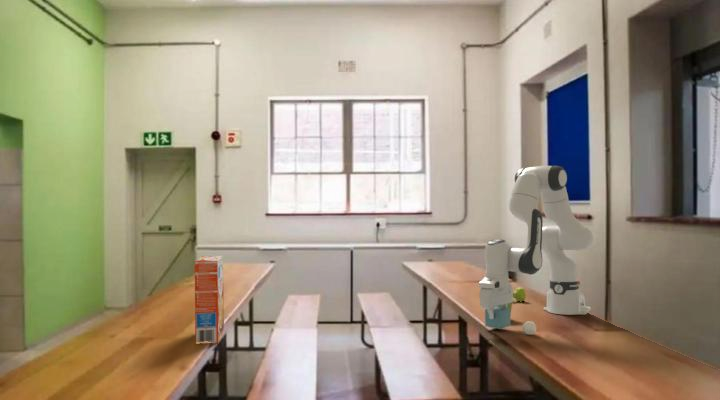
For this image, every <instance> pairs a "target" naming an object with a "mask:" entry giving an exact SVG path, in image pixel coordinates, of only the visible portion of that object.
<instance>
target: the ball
mask: <svg viewBox="0 0 720 400" xmlns="http://www.w3.org/2000/svg"><path fill="white" fill-rule="evenodd" d="M521 327H522V331H523V333H524V334H526V335H528V336H533V335H534V334H535V333H536V332H537V325H536V324H535V322H534V321H530V320H527V321H525V322H524V323H523V324H522V326H521Z"/></svg>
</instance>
